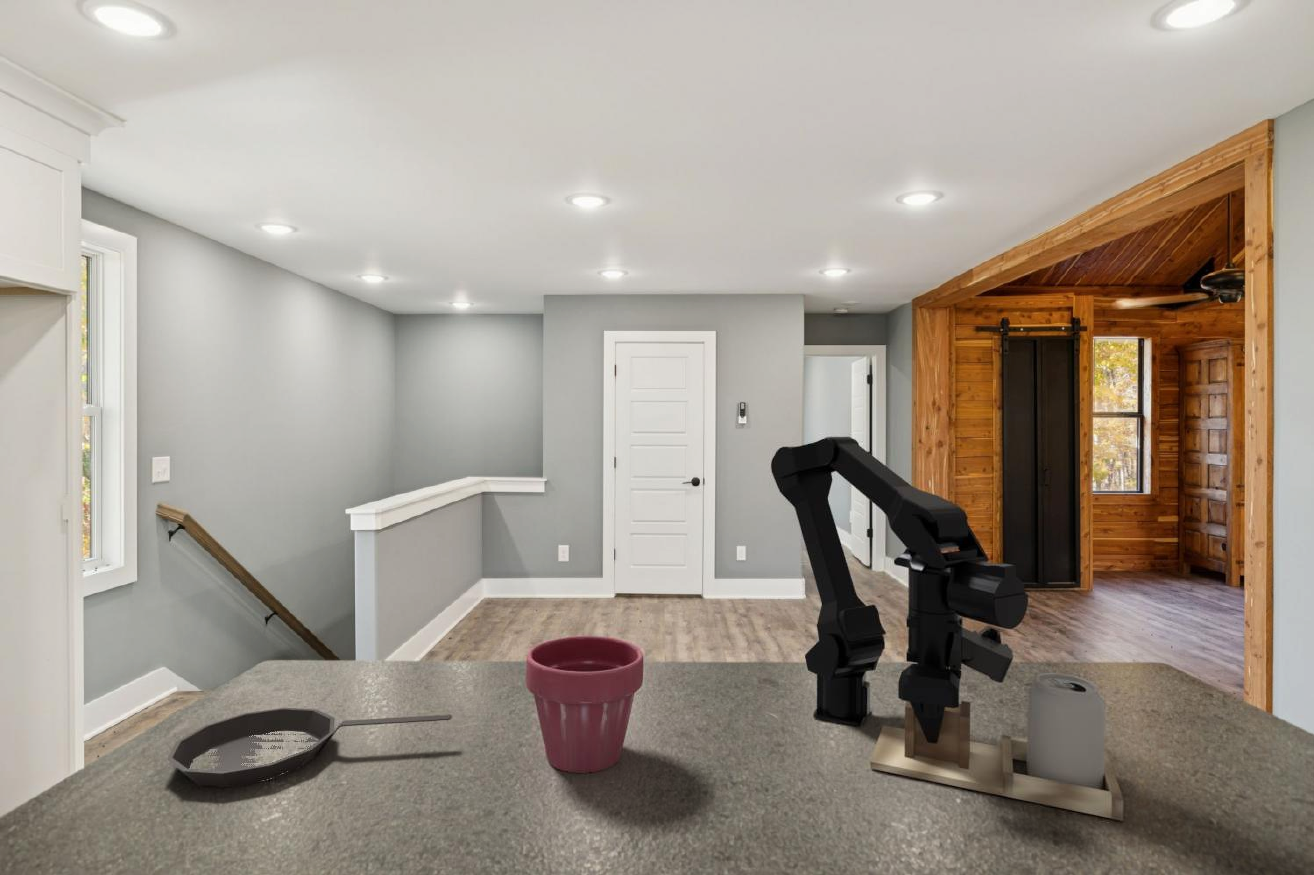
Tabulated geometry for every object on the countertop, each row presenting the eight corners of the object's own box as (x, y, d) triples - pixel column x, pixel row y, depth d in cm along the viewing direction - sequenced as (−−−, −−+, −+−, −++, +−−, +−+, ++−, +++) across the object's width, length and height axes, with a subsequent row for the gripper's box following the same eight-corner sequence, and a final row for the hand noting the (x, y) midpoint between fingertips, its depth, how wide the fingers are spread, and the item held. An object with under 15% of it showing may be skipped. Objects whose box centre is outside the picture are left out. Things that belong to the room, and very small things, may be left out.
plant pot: (661, 743, 89) (662, 643, 89) (608, 796, 76) (608, 679, 76) (566, 722, 95) (566, 629, 95) (501, 768, 82) (501, 660, 82)
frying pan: (212, 730, 93) (211, 702, 92) (461, 716, 97) (461, 689, 97) (131, 803, 75) (131, 769, 75) (440, 781, 80) (440, 749, 79)
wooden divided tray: (870, 768, 82) (870, 710, 82) (883, 731, 92) (883, 680, 92) (1122, 820, 71) (1123, 754, 71) (1106, 772, 81) (1107, 714, 81)
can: (1115, 808, 74) (1117, 696, 74) (1037, 799, 76) (1039, 689, 75) (1088, 774, 81) (1090, 672, 81) (1018, 766, 83) (1020, 666, 83)
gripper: (1011, 637, 72) (1010, 787, 72) (1006, 597, 89) (1005, 719, 89) (897, 625, 77) (897, 765, 77) (913, 589, 94) (913, 704, 94)
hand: (933, 736), depth 84 cm, fingers closed on wooden divided tray, 3 cm apart
